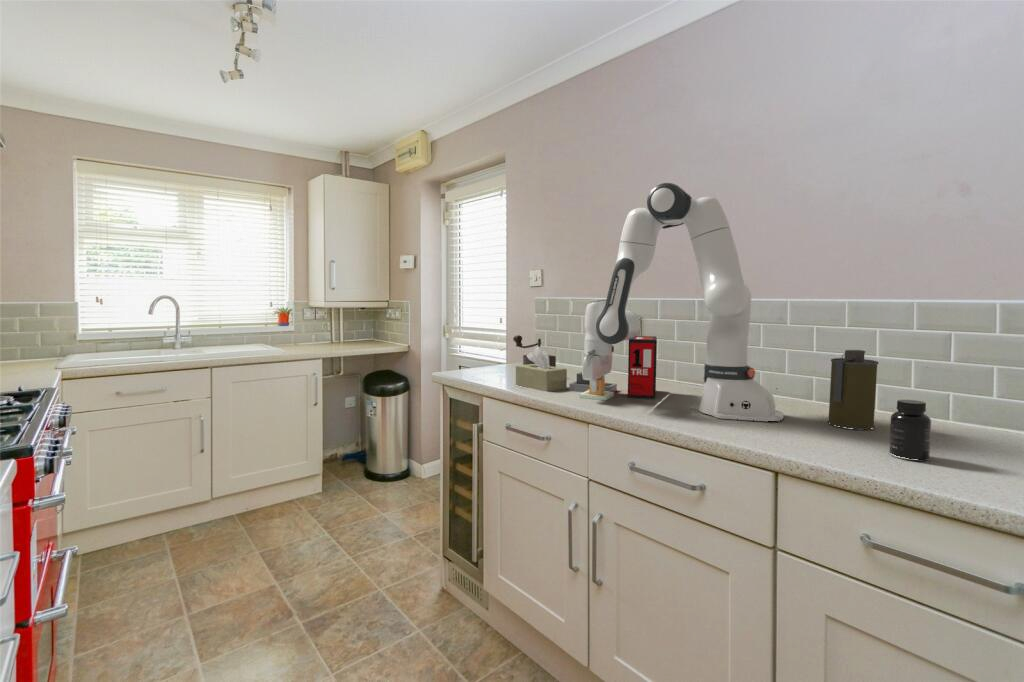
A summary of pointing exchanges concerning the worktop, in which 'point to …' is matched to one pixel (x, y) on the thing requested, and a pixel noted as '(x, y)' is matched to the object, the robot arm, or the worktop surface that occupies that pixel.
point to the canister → (853, 391)
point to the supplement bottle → (910, 430)
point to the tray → (597, 397)
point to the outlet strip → (582, 388)
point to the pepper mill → (518, 340)
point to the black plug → (581, 379)
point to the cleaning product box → (642, 367)
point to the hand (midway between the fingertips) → (597, 389)
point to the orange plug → (600, 387)
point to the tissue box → (541, 373)
